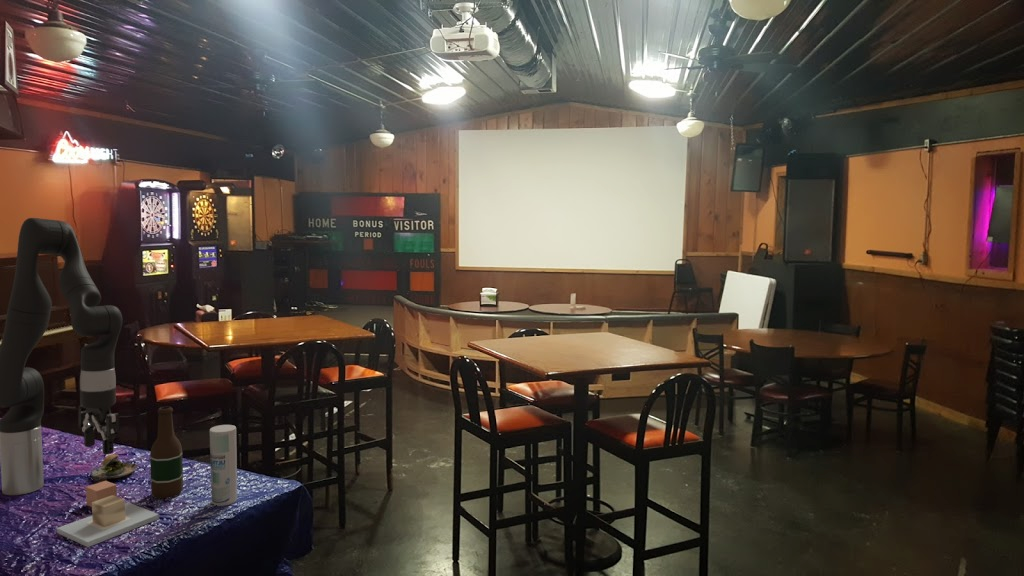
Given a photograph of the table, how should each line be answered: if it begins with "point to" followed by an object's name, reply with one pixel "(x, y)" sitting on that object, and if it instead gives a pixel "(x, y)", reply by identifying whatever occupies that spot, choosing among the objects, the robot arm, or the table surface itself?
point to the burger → (112, 469)
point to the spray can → (223, 464)
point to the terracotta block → (100, 491)
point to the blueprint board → (94, 533)
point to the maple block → (108, 510)
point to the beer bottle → (166, 458)
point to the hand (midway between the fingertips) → (98, 449)
